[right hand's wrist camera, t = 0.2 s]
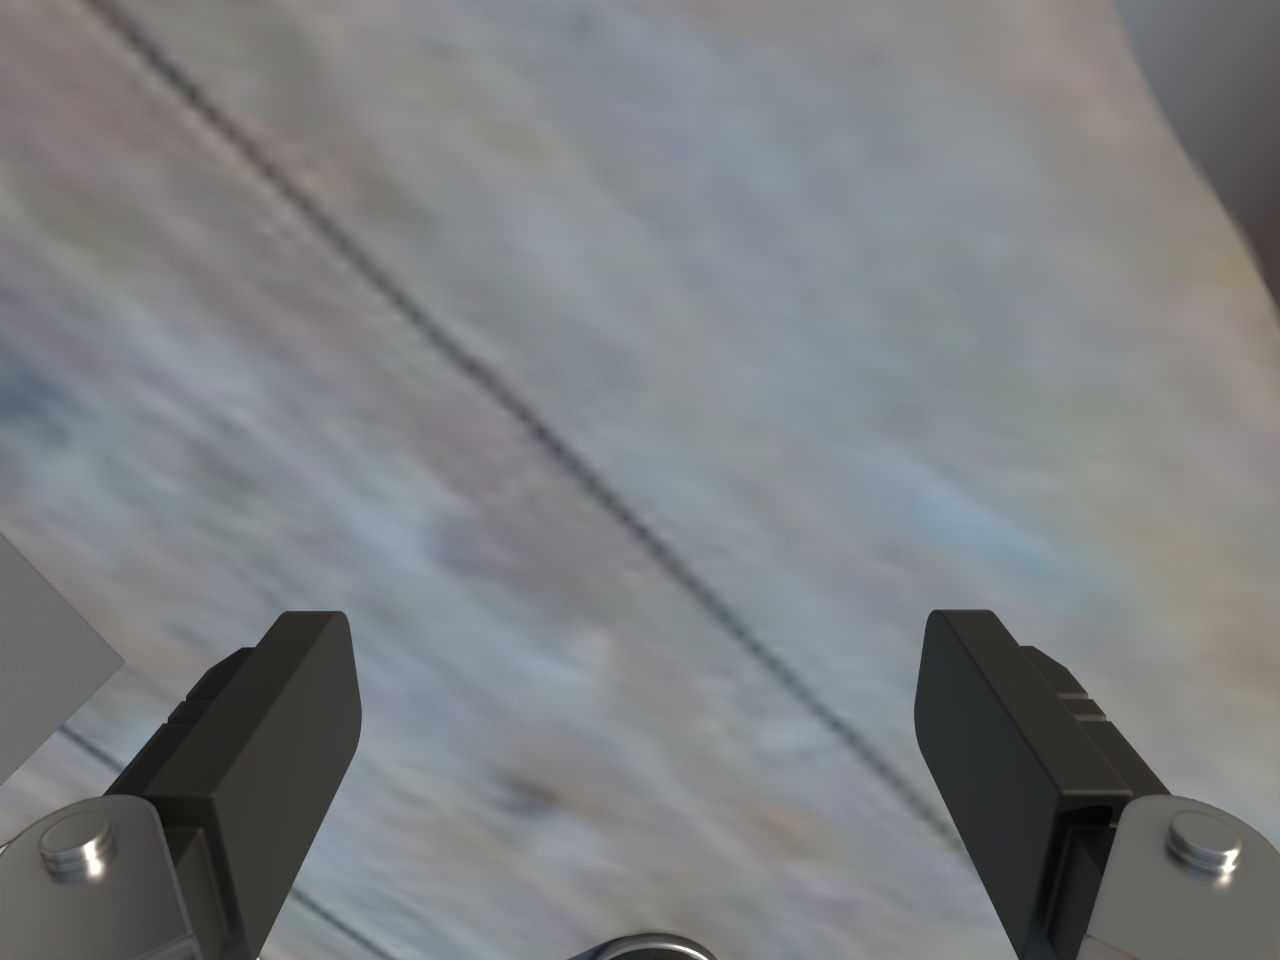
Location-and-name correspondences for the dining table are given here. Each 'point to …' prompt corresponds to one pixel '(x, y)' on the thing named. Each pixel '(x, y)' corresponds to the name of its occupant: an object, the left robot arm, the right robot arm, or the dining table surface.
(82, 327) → the dining table surface
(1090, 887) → the right robot arm
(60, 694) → the bar
